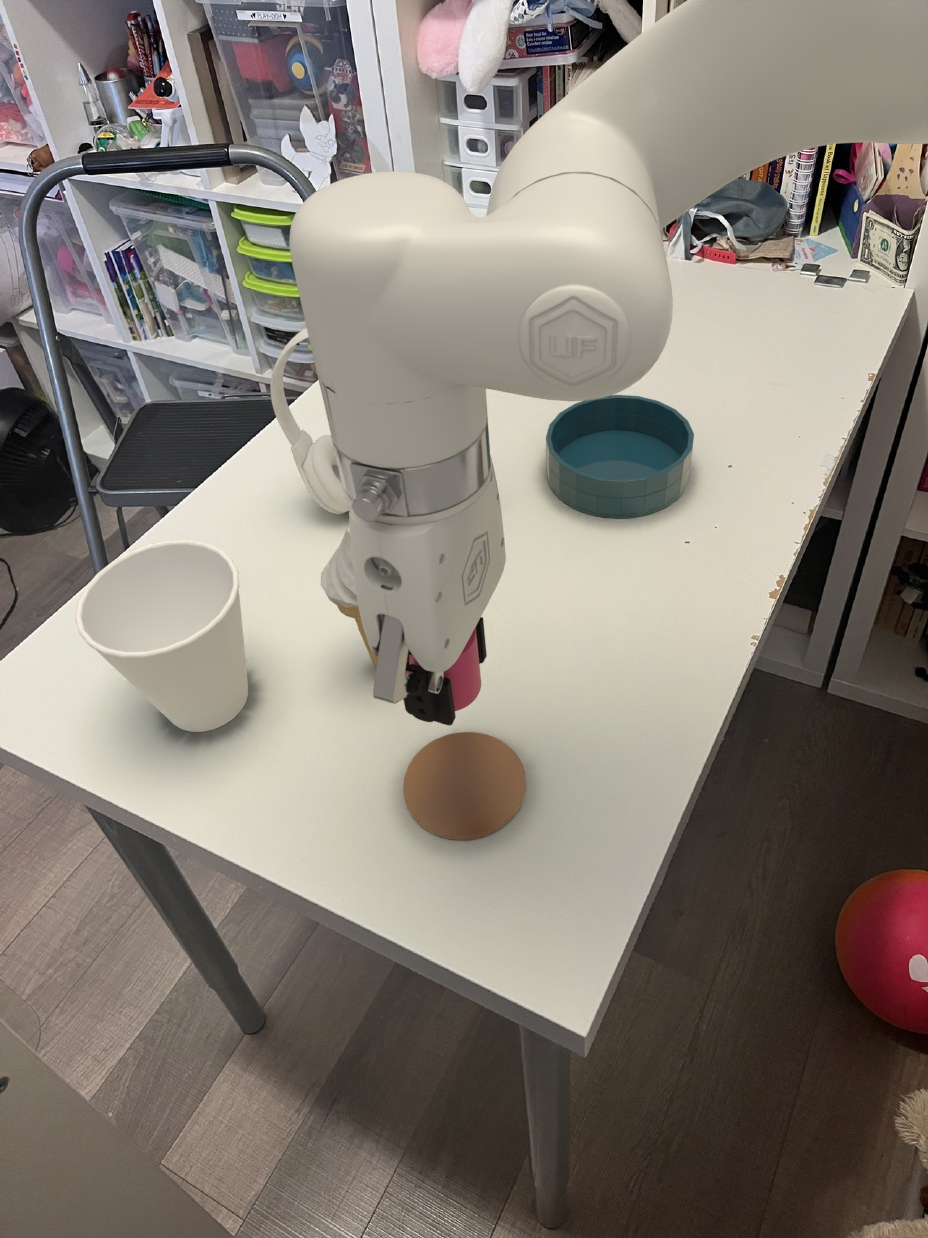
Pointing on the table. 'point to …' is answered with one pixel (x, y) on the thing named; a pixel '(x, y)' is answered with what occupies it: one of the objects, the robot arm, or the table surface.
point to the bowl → (619, 456)
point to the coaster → (464, 786)
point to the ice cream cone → (344, 586)
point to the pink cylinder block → (463, 674)
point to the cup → (172, 629)
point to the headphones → (308, 444)
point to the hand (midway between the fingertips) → (447, 683)
